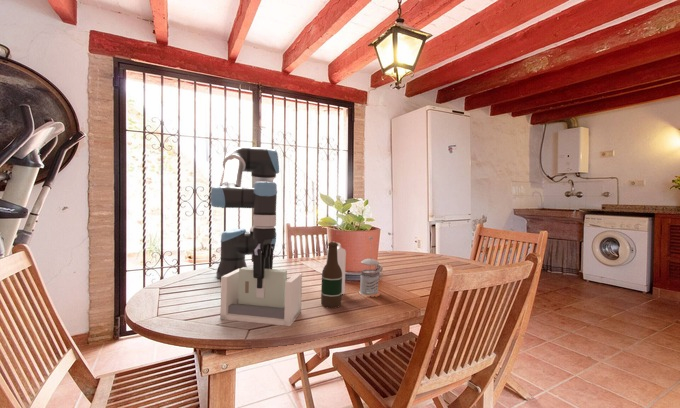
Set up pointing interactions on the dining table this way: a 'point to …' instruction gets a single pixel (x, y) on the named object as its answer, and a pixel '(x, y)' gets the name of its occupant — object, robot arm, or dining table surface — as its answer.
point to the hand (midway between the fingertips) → (262, 295)
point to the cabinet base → (234, 296)
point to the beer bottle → (331, 279)
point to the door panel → (272, 288)
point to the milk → (341, 263)
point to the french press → (369, 287)
